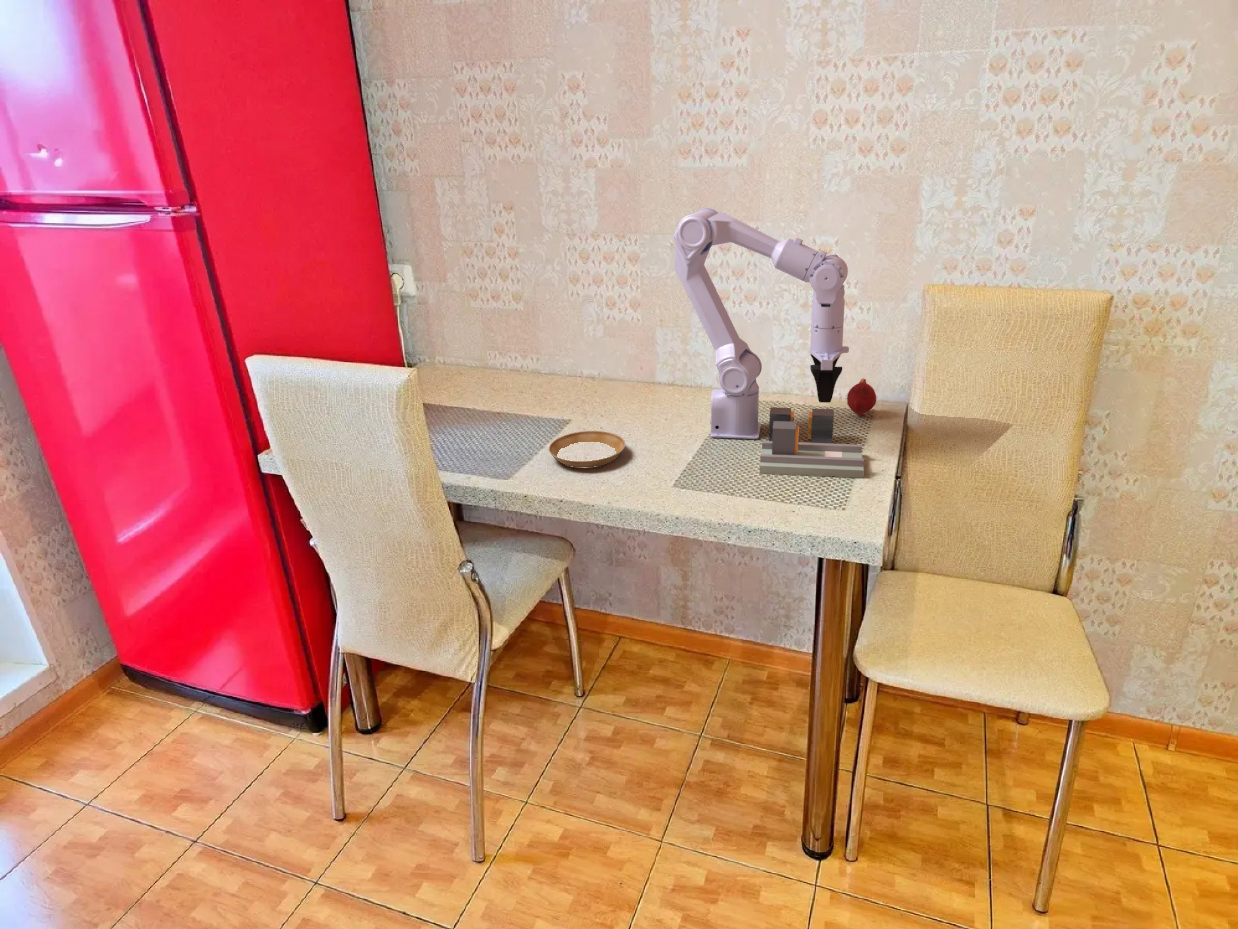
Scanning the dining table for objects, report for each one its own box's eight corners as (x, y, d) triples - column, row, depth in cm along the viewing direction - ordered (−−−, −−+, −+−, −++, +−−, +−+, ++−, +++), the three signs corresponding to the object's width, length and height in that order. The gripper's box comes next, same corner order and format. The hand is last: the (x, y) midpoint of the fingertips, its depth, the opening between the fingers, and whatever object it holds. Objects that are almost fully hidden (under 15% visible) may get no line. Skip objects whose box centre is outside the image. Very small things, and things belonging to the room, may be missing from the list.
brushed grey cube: (807, 443, 159) (809, 415, 157) (807, 436, 162) (809, 408, 160) (832, 444, 158) (833, 415, 156) (831, 437, 161) (833, 409, 159)
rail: (759, 473, 148) (760, 434, 145) (762, 450, 157) (763, 414, 154) (863, 478, 145) (866, 438, 142) (860, 454, 154) (863, 417, 150)
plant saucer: (533, 461, 158) (532, 449, 157) (585, 436, 168) (585, 424, 167) (589, 481, 149) (588, 468, 148) (641, 453, 159) (640, 441, 158)
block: (768, 442, 161) (769, 413, 158) (769, 435, 164) (770, 407, 161) (792, 443, 160) (794, 414, 157) (793, 436, 163) (794, 407, 160)
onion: (875, 421, 168) (879, 384, 164) (846, 420, 169) (849, 383, 166) (873, 410, 173) (876, 374, 170) (845, 410, 174) (847, 374, 171)
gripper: (851, 335, 143) (847, 408, 149) (848, 314, 156) (844, 382, 162) (810, 335, 145) (807, 408, 151) (810, 314, 158) (808, 381, 163)
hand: (824, 394), depth 156 cm, fingers open, 7 cm apart
